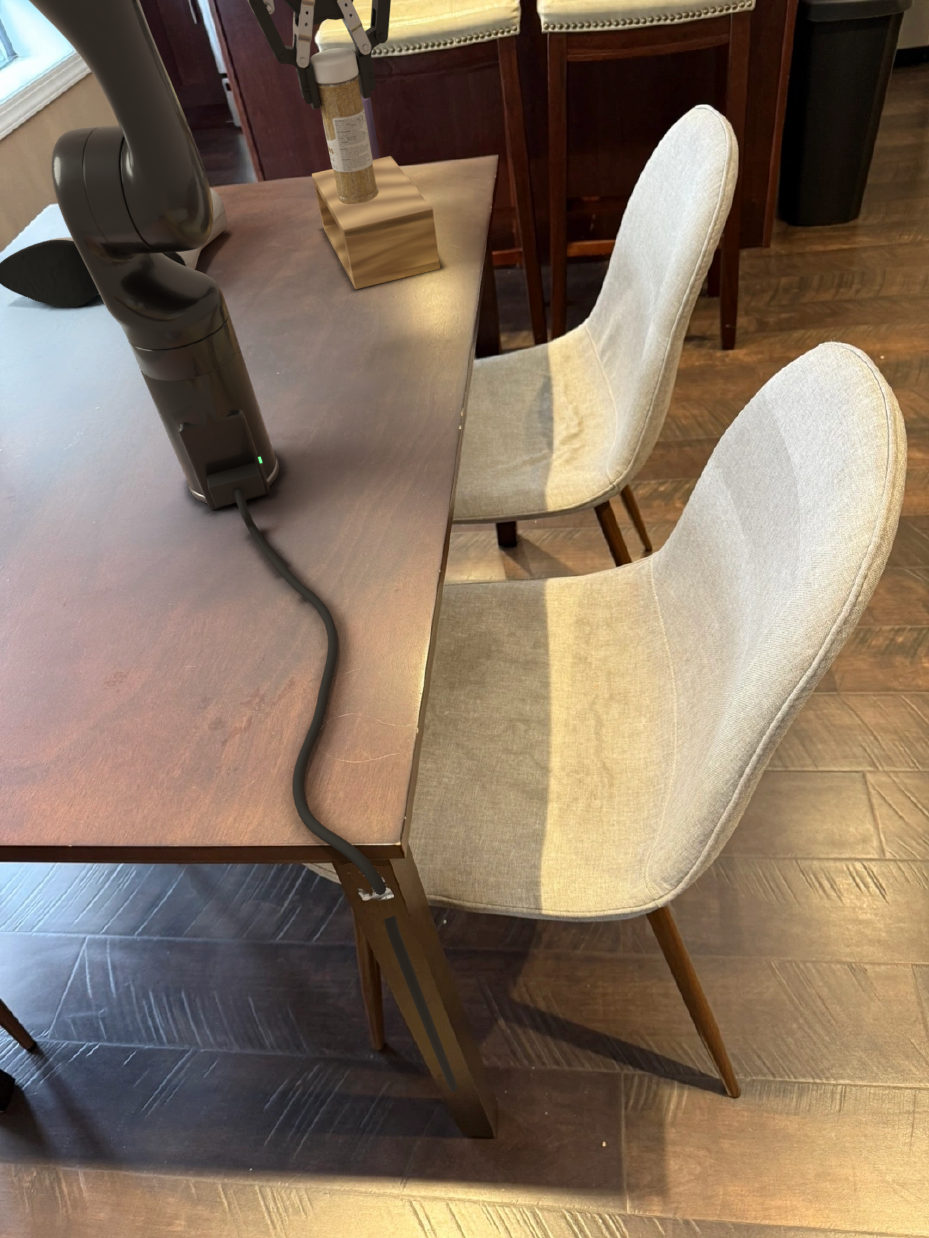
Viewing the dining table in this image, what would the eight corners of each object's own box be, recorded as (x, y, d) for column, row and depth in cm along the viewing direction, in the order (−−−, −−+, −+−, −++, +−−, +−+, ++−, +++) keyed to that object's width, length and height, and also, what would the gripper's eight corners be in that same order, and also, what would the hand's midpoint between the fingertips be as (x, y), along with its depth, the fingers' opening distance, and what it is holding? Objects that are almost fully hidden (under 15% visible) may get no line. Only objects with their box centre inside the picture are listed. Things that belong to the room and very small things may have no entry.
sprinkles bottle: (337, 192, 95) (307, 51, 85) (378, 185, 95) (353, 43, 85) (339, 209, 91) (309, 64, 82) (381, 202, 92) (356, 56, 82)
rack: (440, 268, 118) (432, 208, 112) (355, 289, 116) (343, 229, 111) (399, 211, 133) (390, 155, 127) (323, 229, 131) (311, 173, 125)
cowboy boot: (164, 250, 112) (232, 176, 129) (-28, 238, 116) (62, 167, 132) (183, 318, 119) (245, 239, 136) (1, 304, 123) (83, 230, 139)
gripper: (222, -99, 70) (277, 129, 83) (390, -130, 72) (419, 97, 85) (212, -110, 75) (265, 106, 88) (369, -139, 77) (400, 77, 90)
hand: (341, 101), depth 86 cm, fingers closed on sprinkles bottle, 4 cm apart
